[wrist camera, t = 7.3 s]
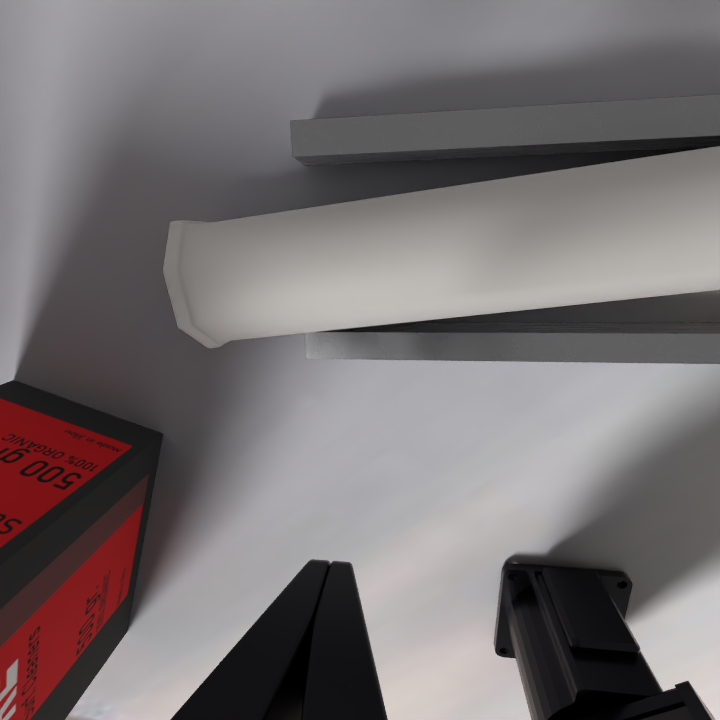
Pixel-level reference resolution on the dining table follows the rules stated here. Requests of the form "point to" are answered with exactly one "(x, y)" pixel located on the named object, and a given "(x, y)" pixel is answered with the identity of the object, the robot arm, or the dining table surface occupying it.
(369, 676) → the robot arm
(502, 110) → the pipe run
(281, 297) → the tube
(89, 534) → the cleaning product box
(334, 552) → the dining table surface
